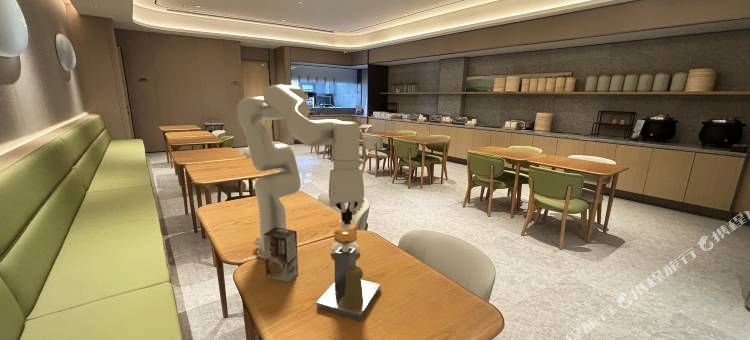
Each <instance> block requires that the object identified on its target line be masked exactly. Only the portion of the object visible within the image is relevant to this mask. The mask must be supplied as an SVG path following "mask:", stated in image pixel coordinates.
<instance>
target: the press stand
mask: <svg viewBox="0 0 750 340" xmlns="http://www.w3.org/2000/svg"><path fill="white" fill-rule="evenodd" d="M356 262H357V254H356V248H353V247H349V253H348V254H346V253H342V246H341V247H340V248H338V249H337V250H336V251H335V254H334V282H333V283H332V285H331V286H330V287H329V288H328V289H327V290H326V292H324V293H323V295H322V296H321V297H320V298H319V299H318V300H317V301H316V308H317V309H319V310H323V311H326V312H329V313H333V314H334V315H335V314H336V315H339V316H342V317H346V318H348V319H351V320H355V321H358V322H361V321H362V319H363V317H364V316H365V314H366V313H367V312H368V310H369V309H370V306H372V303H373V302H374V300H375V299H376V297H377V295H378V294H379V293H380V291H381V286H382V285H381V284H380V283H376V282H372V281H370V280H365V279H363V278H362V279H361V284H362V292H363V300H364V303H363V305H362V306H361V307H359V308H356V309H350V308H347V307H345V306H344V304H343V301H344V294H345V288H346V281H347V280H346V278H345V271H346V269H347V268H348V267H350V266H357V263H356Z"/></svg>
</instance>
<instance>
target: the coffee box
mask: <svg viewBox="0 0 750 340" xmlns="http://www.w3.org/2000/svg"><path fill="white" fill-rule="evenodd" d="M297 233H298V232H297V230H293V229H288V228H286V229H282V228H276V227H274V228H273V229H271V230H270V231H268V232H267V233H265V234H264V248H265V259H264V261H265V271H266V272H265V273H266V275H265V276H266V278H269V279H273V280H278V281H282V282H286V283H290V281H292V280H293V279H294V278H295V277H296V276H297V275H299V263H298V237H297V236H298V235H297Z"/></svg>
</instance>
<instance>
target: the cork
mask: <svg viewBox="0 0 750 340" xmlns="http://www.w3.org/2000/svg"><path fill="white" fill-rule="evenodd" d="M363 275H364V272H363V270H362V268H361V267H359V266H358V265H356V266H350V267H348V268H347V269H346V271H345V278H346V280H347V281H346V288H345V294H344V301H343V304H344V306H345V307H347V308H350V309H356V308H359V307H361V306H362V305H363V303H364V300H363V292H362V284H361V279H362V280H363Z"/></svg>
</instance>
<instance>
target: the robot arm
mask: <svg viewBox="0 0 750 340" xmlns="http://www.w3.org/2000/svg"><path fill="white" fill-rule="evenodd" d="M236 111H237V112H236V114H237V118H238V119H237V120H238V123H239V125H240V127H241V129H242V130H243V133H244V135H245V138H246V141H247V146H248V149H249V154H250V157H251V160H252V165H253V167H254V169H255V170H256V171H258V172H269V171H273V170H274V171H275V170H280V171H279V172H274V173H268V174H265V175H262V176H260V177H258V178H257V179H256V180H255V182H254V192H255V196H256V199H257V206H258V216H259V217H258V218H259V232H260V237H256V239H255V241H254V242H253V243H254V245H256V246H258V249H257V251H256V252H257V257H259V258H260V259H262V260H265V248H264V234H265V233H267V232H268V231H270V230H271V229H273V228H274V227H276V228H282V229H287V222H286V221H287V220H286V208H285V205H283V203H282V202H281V200H280V199H281V198H283V197H286V196H291V195H294V194H296V193H298V192H299V190H300V188H301V177H300V172H299V167H298V163H297V161H296V157H295V153H294V151H293V149H292V148H291V146H290V145H288V144H285V143H275V144H274V143H273V140H272V137H271V136H272V135H271V133H270V131H269V129H268V128H267V127H266V126H265V125H264V124H263V123H262V122H261V121H273V120H276V121H277V120H282V119H285V120H286V123H287V124H286V125H287V128H288V130H289V132H290V134H291V135H292V137H294V138H295V139H296V140H297V141H299V142H300V143H302V144H303V145H305V146H307V147H312V148H315V147H322V146H328V145H330V146H331V145H332V146H333V149H332V151H333V152H332V153H333V154H332V155H333V158H332V159H333V167H332V168H330V172H329V180H328V198H329V201H328V205H329V207H331V208H332V207H333V208H337V209H339V210H340V211H341V212H340V215H341V218H340V219H342V221H343V222H344V224H345V225H347V224H350V225H351V224H352V222H351V220H352V221H353V215H352V211H353V210H354V208H355V207H356V206H357V205H360V204H362V205H363V204H364V203H365V199H364V197H365V184H364V177H363V169H362V168H361V165H364V164H365V161H364V159H361V158H360V125H359V124H358V123H357V122H356V121H342V120H340V119H339V120H338V119H317V120H316V119H315V120H314V119H313V120H311V119H309V118H308V116H309V113H310V106H309V103H308V102H307V95H306V93H305V91H304V89H302V88H301V87H299V86H298V85H290V84H273V85H270V86H268V87H266V88H265V90H264V92H263V96H248V97H244V98H243V99H241V100H240V101H239V102H238V105H237V110H236ZM346 204H347V207H346Z"/></svg>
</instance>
